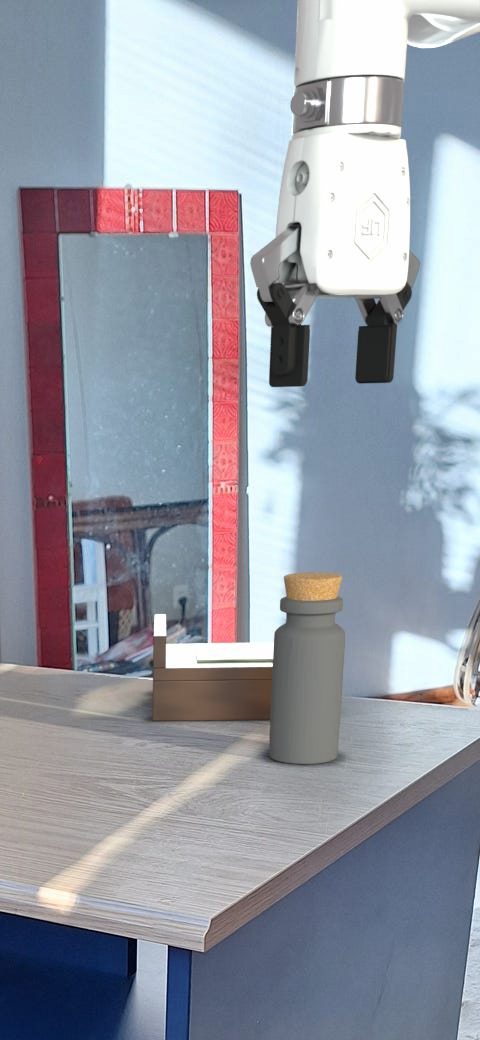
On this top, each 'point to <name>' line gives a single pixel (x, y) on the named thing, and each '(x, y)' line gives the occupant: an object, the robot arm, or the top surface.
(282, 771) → the top surface
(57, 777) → the top surface
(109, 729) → the top surface
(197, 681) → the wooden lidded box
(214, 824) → the top surface
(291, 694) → the bottle
